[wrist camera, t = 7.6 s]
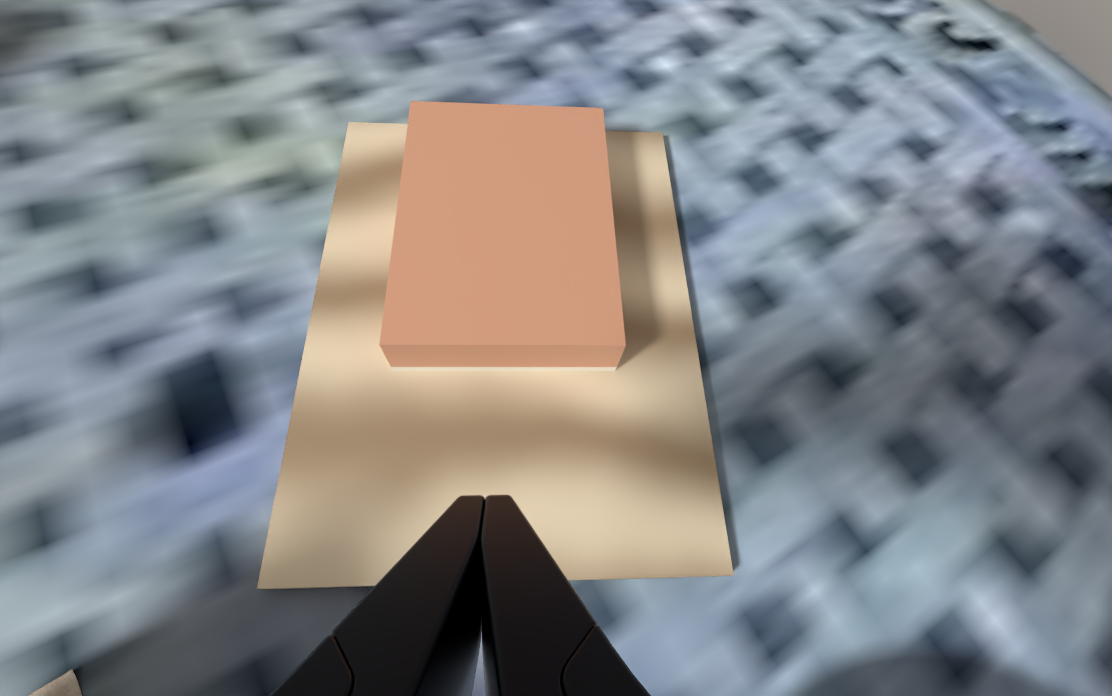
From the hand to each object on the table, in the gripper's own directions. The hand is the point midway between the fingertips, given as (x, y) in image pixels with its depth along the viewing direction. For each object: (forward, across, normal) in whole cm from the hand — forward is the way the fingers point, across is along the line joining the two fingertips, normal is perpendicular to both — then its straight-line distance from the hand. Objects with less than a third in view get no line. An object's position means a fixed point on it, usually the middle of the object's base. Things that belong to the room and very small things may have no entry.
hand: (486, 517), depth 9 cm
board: (+18, 0, +1) cm, 18 cm away
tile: (+14, 0, +2) cm, 14 cm away
